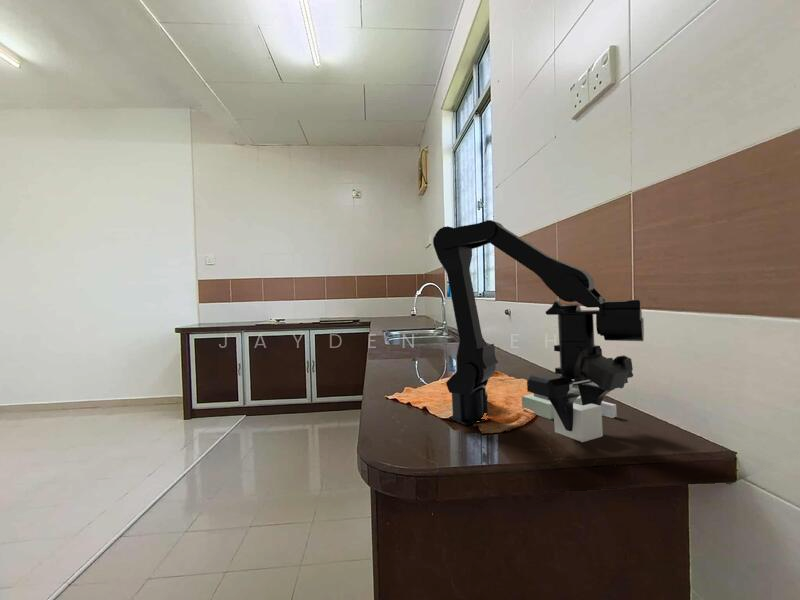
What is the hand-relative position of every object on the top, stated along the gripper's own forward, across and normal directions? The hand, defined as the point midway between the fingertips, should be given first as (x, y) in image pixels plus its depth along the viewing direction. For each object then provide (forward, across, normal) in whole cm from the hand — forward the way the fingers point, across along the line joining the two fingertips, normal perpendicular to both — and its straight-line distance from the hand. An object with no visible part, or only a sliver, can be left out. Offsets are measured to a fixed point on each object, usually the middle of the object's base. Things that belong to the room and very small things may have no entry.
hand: (580, 427), depth 72 cm
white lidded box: (+1, 0, 0) cm, 1 cm away
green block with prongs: (+1, +9, +10) cm, 14 cm away
